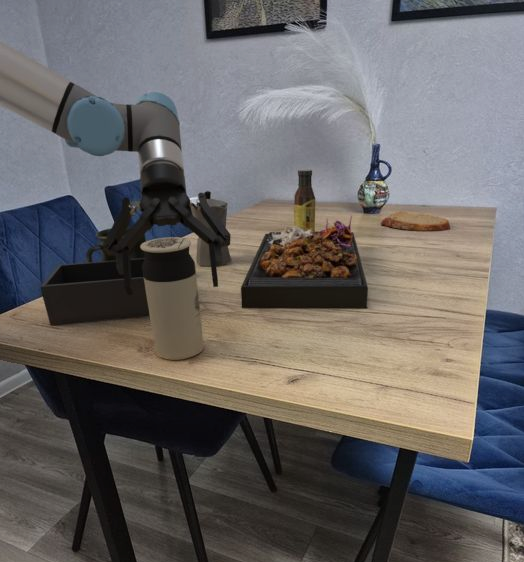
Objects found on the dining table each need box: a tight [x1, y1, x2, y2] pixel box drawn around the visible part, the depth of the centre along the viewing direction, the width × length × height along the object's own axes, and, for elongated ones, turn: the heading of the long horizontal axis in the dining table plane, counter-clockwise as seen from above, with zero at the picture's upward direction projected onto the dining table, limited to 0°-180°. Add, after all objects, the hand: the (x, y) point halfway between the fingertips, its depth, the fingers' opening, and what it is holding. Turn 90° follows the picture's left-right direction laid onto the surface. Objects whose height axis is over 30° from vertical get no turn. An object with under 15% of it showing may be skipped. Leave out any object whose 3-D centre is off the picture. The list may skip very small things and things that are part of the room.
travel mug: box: [140, 236, 205, 361], centre depth 74 cm, size 8×8×18 cm
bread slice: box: [380, 211, 451, 232], centre depth 152 cm, size 18×18×4 cm
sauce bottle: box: [293, 169, 316, 232], centre depth 138 cm, size 6×6×20 cm
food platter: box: [240, 215, 369, 309], centre depth 111 cm, size 45×25×10 cm, turn 174°
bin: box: [39, 258, 150, 326], centre depth 96 cm, size 22×15×8 cm
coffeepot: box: [189, 190, 232, 268], centre depth 121 cm, size 15×9×18 cm, turn 45°
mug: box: [85, 225, 147, 263], centre depth 109 cm, size 11×15×12 cm
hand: (172, 287), depth 74 cm, fingers open, 13 cm apart
